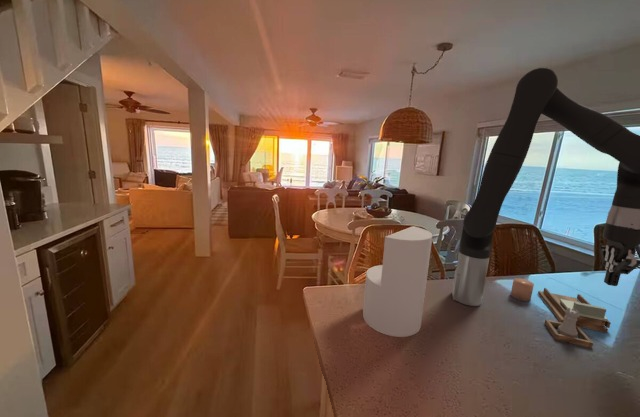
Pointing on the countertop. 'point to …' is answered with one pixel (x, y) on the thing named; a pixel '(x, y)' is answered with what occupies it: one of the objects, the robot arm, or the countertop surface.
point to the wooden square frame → (583, 341)
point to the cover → (586, 309)
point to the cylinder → (398, 284)
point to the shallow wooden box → (559, 309)
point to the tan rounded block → (522, 289)
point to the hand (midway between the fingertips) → (610, 284)
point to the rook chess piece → (569, 323)
